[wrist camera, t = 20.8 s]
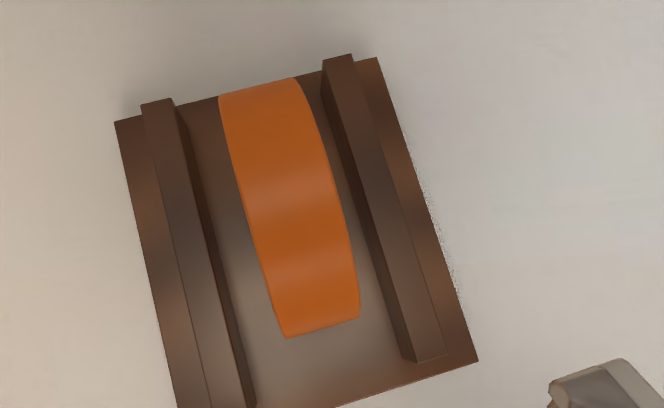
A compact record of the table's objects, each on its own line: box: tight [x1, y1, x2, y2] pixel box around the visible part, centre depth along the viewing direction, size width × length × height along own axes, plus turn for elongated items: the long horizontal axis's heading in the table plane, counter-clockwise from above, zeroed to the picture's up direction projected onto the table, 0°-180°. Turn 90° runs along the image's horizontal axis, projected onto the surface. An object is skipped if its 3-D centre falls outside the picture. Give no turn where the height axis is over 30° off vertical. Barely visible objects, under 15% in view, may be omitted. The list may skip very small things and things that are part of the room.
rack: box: [114, 53, 479, 408], centre depth 22 cm, size 14×12×4 cm
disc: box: [218, 78, 360, 339], centre depth 18 cm, size 3×8×9 cm, turn 16°
